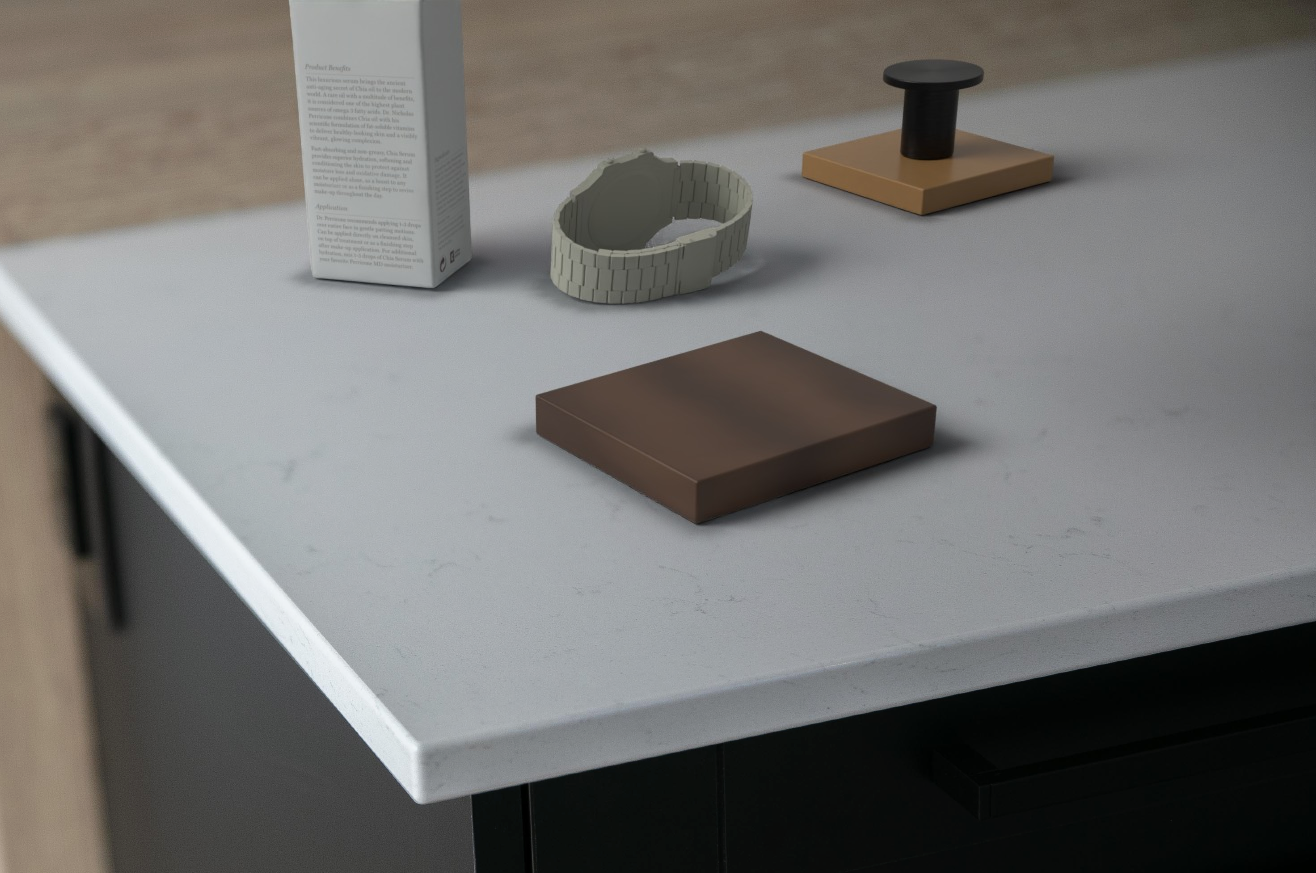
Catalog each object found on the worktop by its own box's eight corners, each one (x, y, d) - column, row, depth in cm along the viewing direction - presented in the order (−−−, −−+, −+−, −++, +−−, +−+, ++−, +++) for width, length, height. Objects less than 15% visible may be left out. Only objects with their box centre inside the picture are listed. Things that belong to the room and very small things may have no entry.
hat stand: (927, 145, 96) (936, 42, 93) (1052, 181, 90) (1065, 71, 87) (800, 177, 93) (806, 70, 90) (921, 216, 86) (930, 102, 84)
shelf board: (759, 367, 72) (761, 329, 72) (934, 446, 65) (938, 405, 65) (534, 434, 68) (534, 394, 68) (695, 525, 61) (697, 482, 61)
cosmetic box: (474, 260, 85) (465, -25, 79) (434, 292, 82) (422, -3, 76) (350, 248, 88) (332, -29, 82) (306, 279, 84) (284, -8, 78)
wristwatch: (697, 237, 86) (700, 124, 83) (788, 275, 81) (793, 155, 78) (519, 279, 82) (516, 162, 80) (602, 322, 77) (602, 198, 75)
